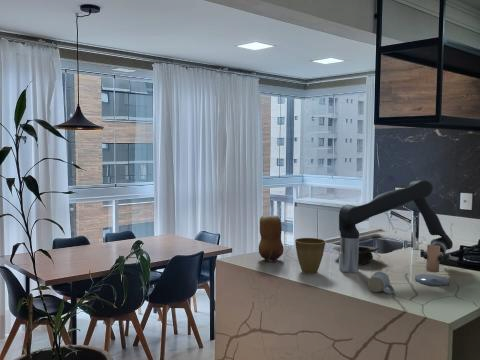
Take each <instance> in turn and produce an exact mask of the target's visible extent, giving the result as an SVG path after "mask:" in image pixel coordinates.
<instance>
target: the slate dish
mask: <svg viewBox="0 0 480 360" xmlns="http://www.w3.org/2000/svg"><path fill="white" fill-rule="evenodd" d="M414 281H415V282H417V283H418V282H419V284H421V285H426V286H429V287H430V286H431V287H444V286H445V287H446V286H448V285H449V284H450V280H449V278H447V277H444V276H441V275H437V274H430V273H429V274H428V273H423V274H422V273H421V274H417V275H414Z"/></svg>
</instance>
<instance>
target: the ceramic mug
mask: <svg viewBox="0 0 480 360" xmlns="http://www.w3.org/2000/svg"><path fill="white" fill-rule="evenodd" d="M367 285H368V288H369V290H371V292H374V293H381V292H385V293H386V294H390V295H392V294H393V293H394V292H395V288H394V287H393V286H392V285H391V284H390V278H389V276H388V274H387V273H385V272H383V271H377V272H374V274H372V275H371V276H370V278H369V279H368V282H367ZM387 288H388V289H387Z"/></svg>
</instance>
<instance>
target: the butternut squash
mask: <svg viewBox="0 0 480 360" xmlns="http://www.w3.org/2000/svg"><path fill="white" fill-rule="evenodd" d="M282 231H283V230H282V220H281V218H280V217H279V216H278V215H276V214H275V215H272V214H271V215H266V214H265V215H262V216H260V218H259V234H260V241H259V243H258V254H259V255H260V257H261V258H263V259H264V260H266V261H269V262H276V261H277V260H278V259H280V257H281V256H282V255H283V254H284V245H283V242H282Z"/></svg>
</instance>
